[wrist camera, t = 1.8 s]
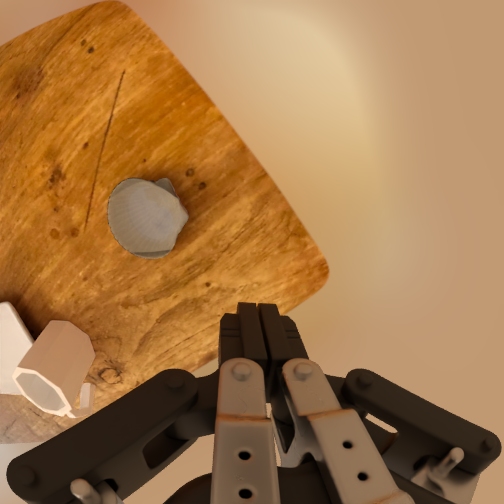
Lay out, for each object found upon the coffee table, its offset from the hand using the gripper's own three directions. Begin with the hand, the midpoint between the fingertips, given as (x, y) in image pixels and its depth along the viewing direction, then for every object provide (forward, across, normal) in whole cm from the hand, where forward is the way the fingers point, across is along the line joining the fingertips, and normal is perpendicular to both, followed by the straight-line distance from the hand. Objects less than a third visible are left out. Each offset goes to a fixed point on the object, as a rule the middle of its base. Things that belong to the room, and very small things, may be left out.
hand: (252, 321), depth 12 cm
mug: (+17, +20, +20) cm, 33 cm away
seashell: (+17, +8, 0) cm, 19 cm away
